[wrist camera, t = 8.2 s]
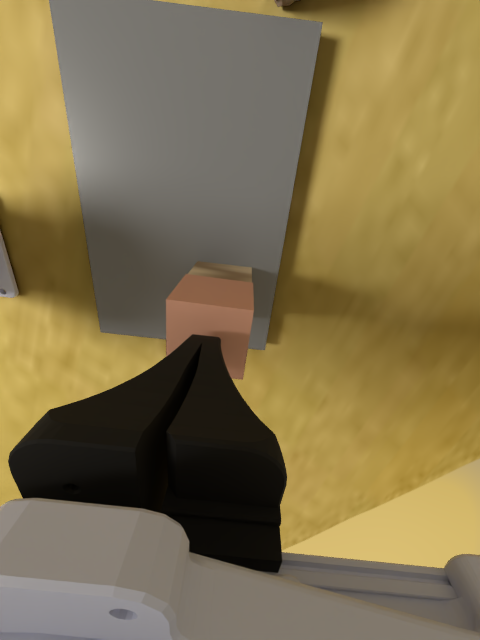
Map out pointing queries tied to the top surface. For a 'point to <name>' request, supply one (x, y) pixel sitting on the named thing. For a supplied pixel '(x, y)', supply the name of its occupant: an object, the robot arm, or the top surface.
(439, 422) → the top surface
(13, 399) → the top surface
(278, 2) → the brick
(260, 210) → the plate
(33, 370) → the top surface
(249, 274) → the maple block
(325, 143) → the top surface
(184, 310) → the terracotta block
